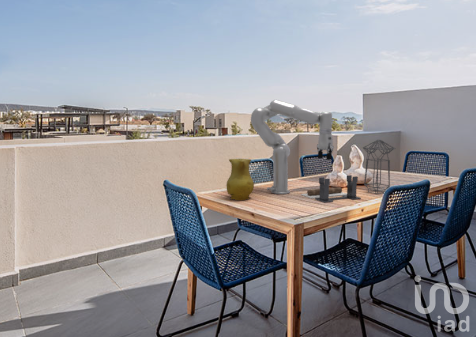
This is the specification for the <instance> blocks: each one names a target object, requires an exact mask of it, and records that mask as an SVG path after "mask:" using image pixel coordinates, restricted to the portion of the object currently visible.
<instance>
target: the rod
mask: <svg viewBox="0 0 476 337" xmlns="http://www.w3.org/2000/svg"><path fill="white" fill-rule="evenodd" d="M341 192H343V189H342V187H340V186H339V187H329V194H333V193H341ZM306 194H308V196H312V195H320V188H317V189H307V191H306Z"/></svg>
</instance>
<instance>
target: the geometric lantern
mask: <svg viewBox="0 0 476 337" xmlns="http://www.w3.org/2000/svg"><path fill="white" fill-rule="evenodd" d="M362 149H363V150H364V151H365V152H366V153H367V156H366V157H367V158H366V161H365V162H366V163H365V170H364V171H365V173H364V184H363V186H365V188H367V192H368V193H370V194H375V195H380V194H382V193H384V191H386V190H388V189H389V188H390V186H391V185H390V184H391V179H390V177H391V174H390V173H391V172H390V170H391V169H390V168H391V167H390V165H391V164H390V163H391V162H390V161H391V160H390V158H389V154H390V153H391V152H392V151H394V150H396V148H395V147H394V146H392V145H390V143H389V144H388V142H385V141H383V140H382V139H376V140H375V141H373V142H371V143H369V144H367V145H365V146H363V147H362ZM371 150H372V151H371ZM377 150H378V151H379V152H380V153H381V155H380V156H379V157H378V156H377V155H376V153H375V152H377ZM372 153H373V154H372ZM370 155H371V156H372V158H370ZM374 155H375V157H376V158H374ZM385 155H386V156H387V159H383V158H384V156H385ZM380 157H381V158H380ZM369 161H373V163H374V164H373V175H372V176H373V177H372V183H371V185H370V183H366V182H367V181H366V180H367V174H368V173H367V172H368V166H369ZM382 161H384V162H387V169H388V170H387V173H388V174H387V175H388V184H384V183H382V180H381V179H382ZM379 162H380V167H379ZM375 170H376V177H375ZM379 170H380V171H379ZM374 185H376V186H374ZM380 185H381V186H380ZM378 192H379V193H378Z"/></svg>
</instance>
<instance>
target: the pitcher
mask: <svg viewBox="0 0 476 337" xmlns="http://www.w3.org/2000/svg"><path fill="white" fill-rule="evenodd" d="M251 161H252V159H250V158H229V159H228V162H230V166H231V171H230V175H229V177H228V178H227V181H226V185H225V186H226V192H227V194H228V195H229V196H230V198H231V199H230V198H229V199H230V200H232V199H235V200H234V201H247V200H250V199H249V198H250V195H251V194H252V193H253V192H254V187H255V183H254V180H253V178H252V176H251V173H250V163H251ZM246 199H247V200H246Z"/></svg>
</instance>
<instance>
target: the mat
mask: <svg viewBox="0 0 476 337" xmlns="http://www.w3.org/2000/svg"><path fill="white" fill-rule="evenodd" d="M342 195H347V192H343V191H342V192H341V193H333V194H329V198H334V197H342ZM300 196H303V197H306V198H308V199H315V198H320V195H312V196H308V194H307V193H301V194H300Z"/></svg>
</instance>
